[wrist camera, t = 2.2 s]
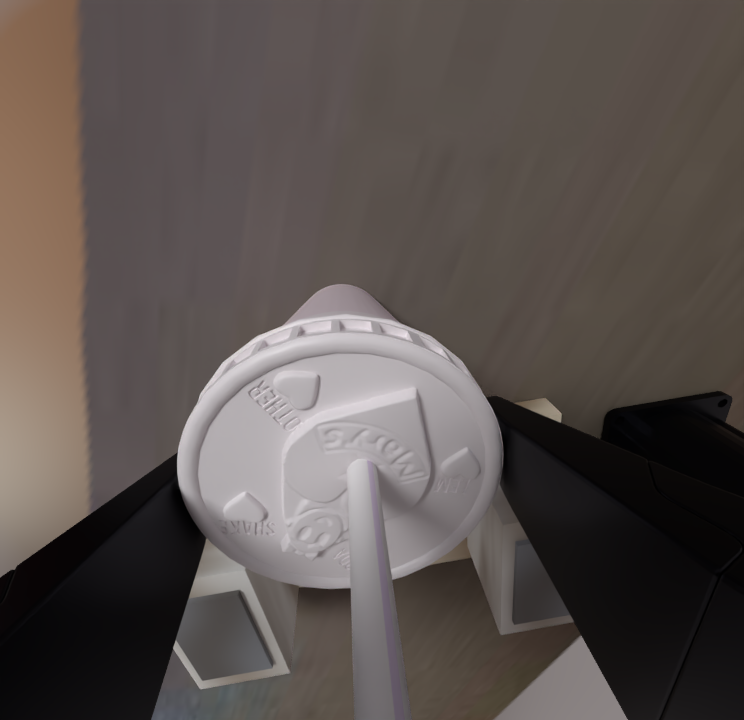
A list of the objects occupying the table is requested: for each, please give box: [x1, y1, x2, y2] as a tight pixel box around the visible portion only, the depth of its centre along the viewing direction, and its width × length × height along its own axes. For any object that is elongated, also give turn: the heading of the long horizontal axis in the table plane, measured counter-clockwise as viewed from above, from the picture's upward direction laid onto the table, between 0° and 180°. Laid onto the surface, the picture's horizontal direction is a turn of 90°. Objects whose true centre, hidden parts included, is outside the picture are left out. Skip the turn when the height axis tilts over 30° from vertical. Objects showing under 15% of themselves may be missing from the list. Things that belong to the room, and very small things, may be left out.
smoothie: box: [177, 284, 503, 720], centre depth 9 cm, size 6×6×14 cm
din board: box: [173, 398, 574, 689], centre depth 17 cm, size 19×9×6 cm, turn 98°
